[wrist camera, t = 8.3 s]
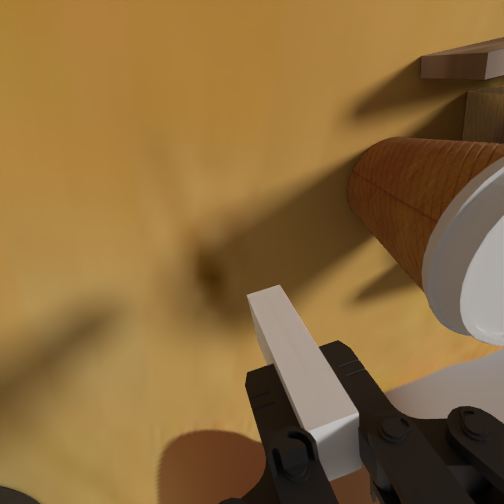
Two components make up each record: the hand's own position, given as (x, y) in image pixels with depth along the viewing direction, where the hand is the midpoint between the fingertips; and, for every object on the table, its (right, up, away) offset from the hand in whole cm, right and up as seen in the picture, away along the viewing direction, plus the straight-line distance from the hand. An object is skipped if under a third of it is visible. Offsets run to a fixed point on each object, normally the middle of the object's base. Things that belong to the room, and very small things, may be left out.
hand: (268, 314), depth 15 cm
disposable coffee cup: (+9, +8, +9) cm, 15 cm away
